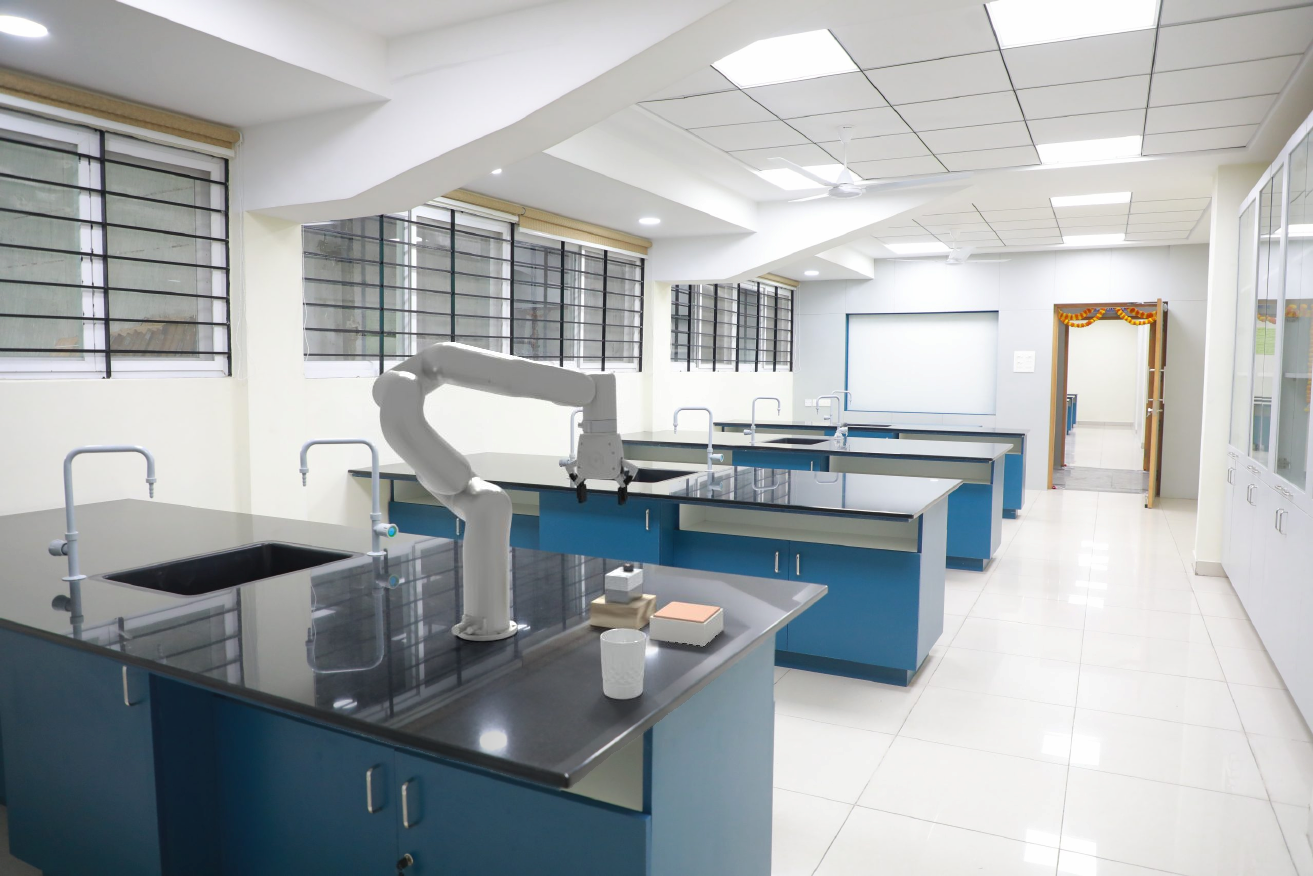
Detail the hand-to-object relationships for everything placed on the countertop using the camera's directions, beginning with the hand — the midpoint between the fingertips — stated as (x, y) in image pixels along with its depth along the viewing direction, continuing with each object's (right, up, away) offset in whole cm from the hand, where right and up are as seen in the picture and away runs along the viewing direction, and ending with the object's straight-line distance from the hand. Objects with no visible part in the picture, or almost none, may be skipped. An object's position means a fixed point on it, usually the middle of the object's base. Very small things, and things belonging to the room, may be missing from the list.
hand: (602, 503), depth 187 cm
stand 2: (+19, -27, -11) cm, 34 cm away
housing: (+5, -21, -3) cm, 22 cm away
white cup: (+6, -29, -43) cm, 52 cm away
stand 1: (+5, -26, -2) cm, 26 cm away
